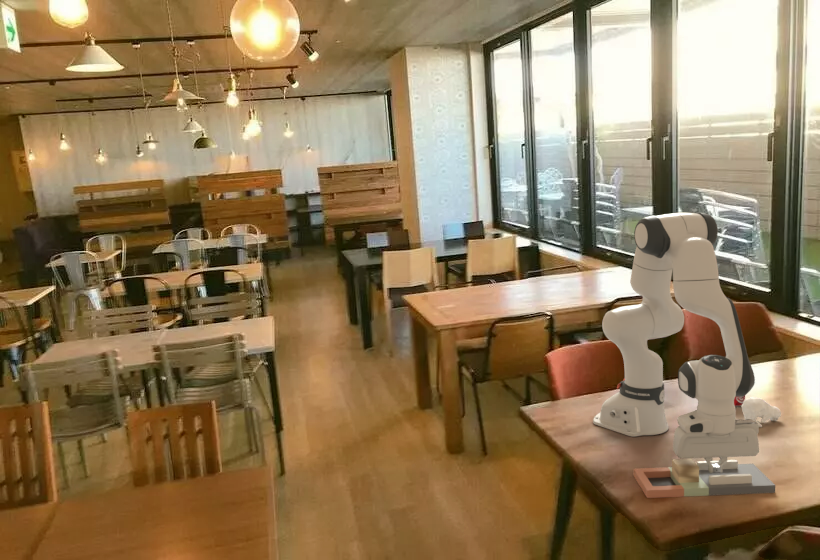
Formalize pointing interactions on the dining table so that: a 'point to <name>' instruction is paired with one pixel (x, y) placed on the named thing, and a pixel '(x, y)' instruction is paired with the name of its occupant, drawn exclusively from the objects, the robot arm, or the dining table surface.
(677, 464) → the birch block
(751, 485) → the board
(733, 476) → the channel walls
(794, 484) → the dining table surface
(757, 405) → the white lumpy figurine
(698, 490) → the pad
